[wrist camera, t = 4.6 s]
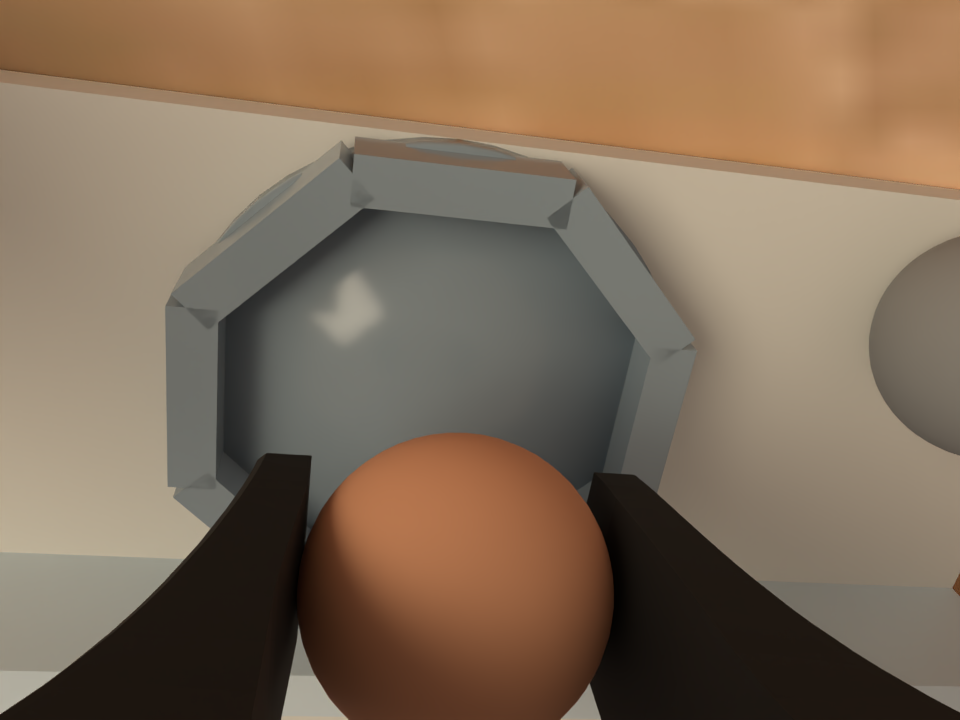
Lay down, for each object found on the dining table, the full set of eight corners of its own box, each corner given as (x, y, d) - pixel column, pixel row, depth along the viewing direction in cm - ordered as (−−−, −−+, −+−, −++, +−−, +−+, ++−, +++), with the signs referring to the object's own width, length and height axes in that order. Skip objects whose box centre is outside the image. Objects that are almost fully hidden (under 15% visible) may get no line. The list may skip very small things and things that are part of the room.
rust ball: (554, 604, 14) (612, 836, 10) (303, 596, 13) (274, 839, 10) (601, 388, 12) (690, 577, 9) (316, 368, 12) (286, 562, 8)
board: (814, 805, 25) (830, 837, 24) (-44, 813, 21) (-62, 852, 20) (1092, 205, 17) (1131, 221, 16) (-179, 47, 13) (-216, 56, 13)
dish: (606, 574, 19) (624, 624, 18) (179, 558, 17) (163, 611, 16) (713, 170, 15) (747, 193, 14) (175, 104, 14) (155, 123, 12)
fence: (936, 620, 21) (1020, 722, 18) (-114, 588, 17) (-203, 711, 14) (952, 587, 20) (1040, 688, 18) (-121, 547, 16) (-215, 667, 14)
